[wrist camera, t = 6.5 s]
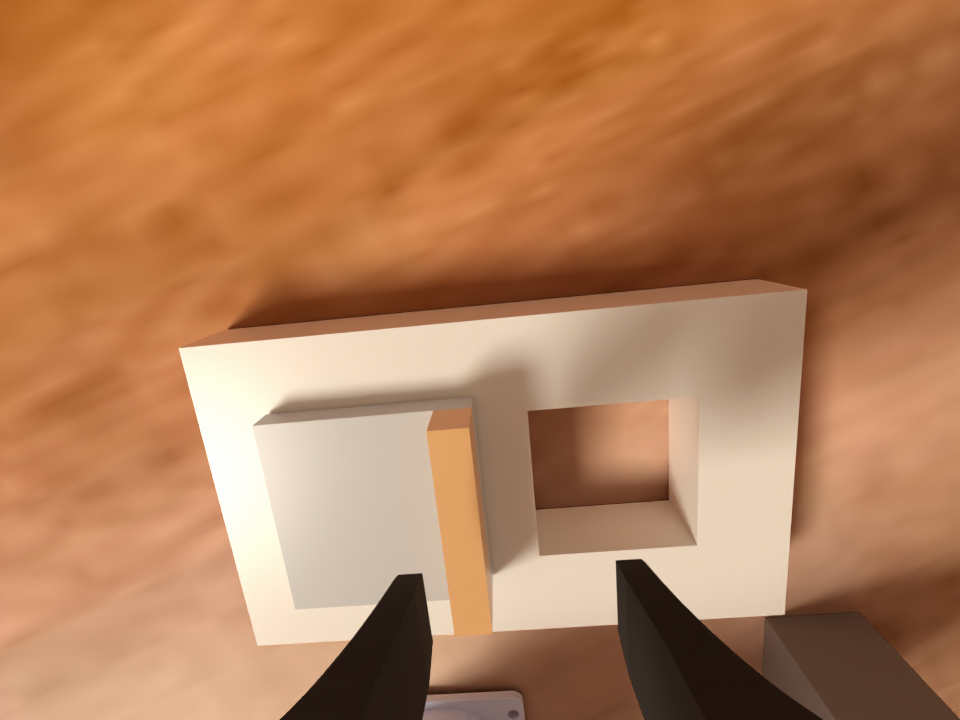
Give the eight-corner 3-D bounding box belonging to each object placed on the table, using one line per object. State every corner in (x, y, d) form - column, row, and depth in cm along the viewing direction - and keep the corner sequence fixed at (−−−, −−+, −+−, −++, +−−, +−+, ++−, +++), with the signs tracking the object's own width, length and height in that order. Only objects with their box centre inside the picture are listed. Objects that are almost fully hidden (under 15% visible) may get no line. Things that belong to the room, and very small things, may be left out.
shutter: (492, 577, 18) (492, 634, 16) (305, 589, 19) (276, 646, 16) (472, 396, 16) (468, 427, 14) (266, 414, 17) (225, 447, 14)
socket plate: (745, 561, 21) (784, 614, 18) (288, 590, 22) (257, 645, 19) (757, 278, 18) (807, 289, 15) (226, 329, 19) (178, 348, 16)
